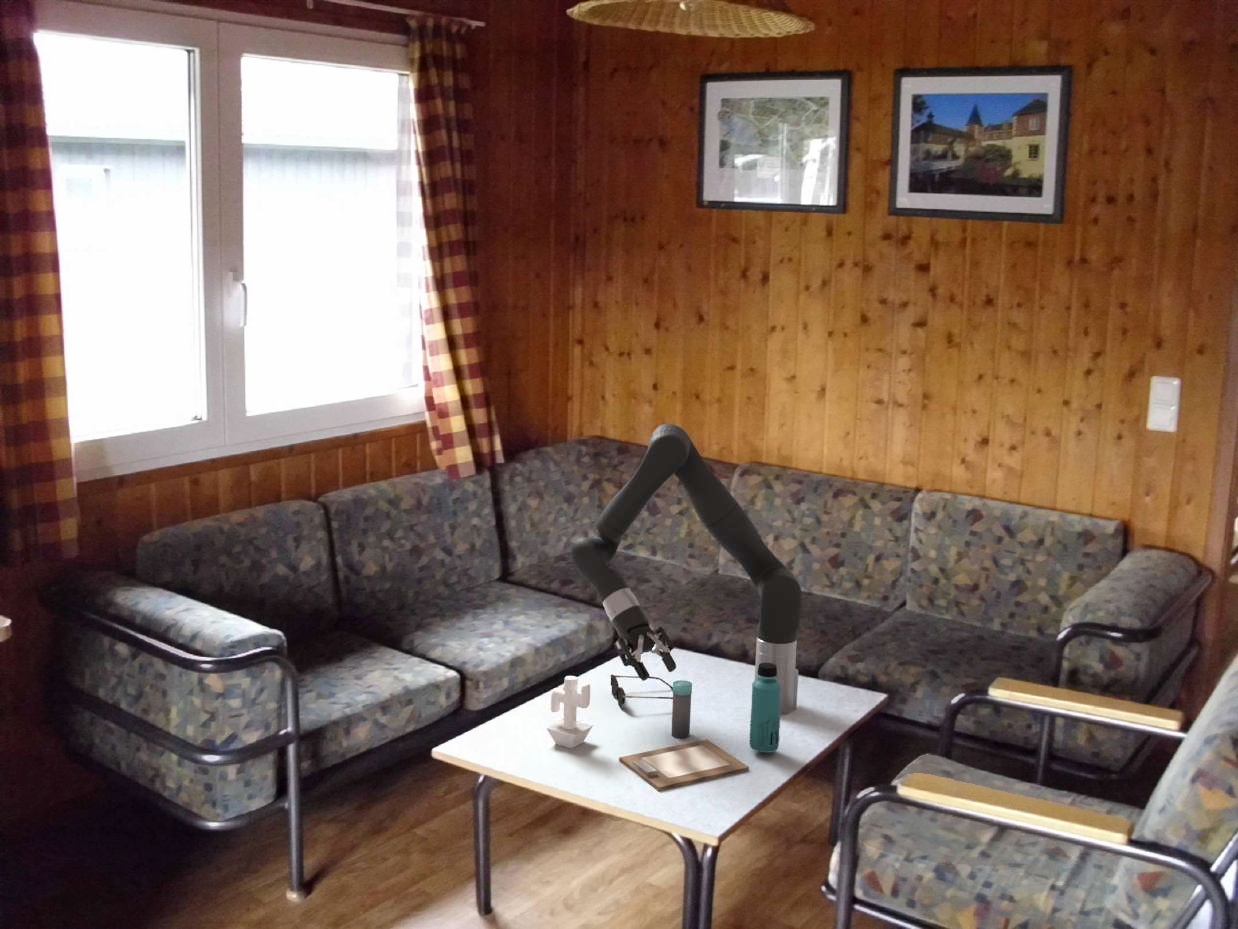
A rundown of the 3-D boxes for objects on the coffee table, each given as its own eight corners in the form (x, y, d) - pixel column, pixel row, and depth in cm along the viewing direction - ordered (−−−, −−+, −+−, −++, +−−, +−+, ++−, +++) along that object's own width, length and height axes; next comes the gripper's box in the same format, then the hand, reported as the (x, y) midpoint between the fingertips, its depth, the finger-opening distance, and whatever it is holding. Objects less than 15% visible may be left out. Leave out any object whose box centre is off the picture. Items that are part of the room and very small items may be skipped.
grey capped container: (683, 730, 300) (685, 679, 298) (693, 736, 297) (695, 685, 294) (667, 733, 298) (669, 682, 296) (677, 740, 295) (679, 688, 292)
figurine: (561, 732, 297) (562, 667, 294) (596, 742, 292) (598, 677, 289) (542, 743, 291) (543, 677, 288) (577, 753, 286) (579, 686, 283)
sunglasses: (608, 692, 322) (610, 673, 321) (673, 693, 326) (675, 673, 325) (621, 714, 309) (623, 693, 308) (688, 714, 313) (690, 694, 312)
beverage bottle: (770, 761, 285) (775, 672, 281) (742, 754, 288) (747, 665, 284) (784, 751, 290) (788, 663, 286) (756, 744, 294) (760, 657, 290)
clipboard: (706, 742, 294) (707, 734, 293) (748, 770, 280) (749, 762, 280) (619, 761, 283) (619, 753, 283) (658, 791, 269) (658, 782, 269)
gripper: (611, 610, 298) (646, 673, 292) (656, 598, 308) (691, 659, 302) (594, 627, 303) (628, 690, 297) (638, 615, 313) (672, 675, 307)
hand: (660, 674), depth 300 cm, fingers open, 8 cm apart
